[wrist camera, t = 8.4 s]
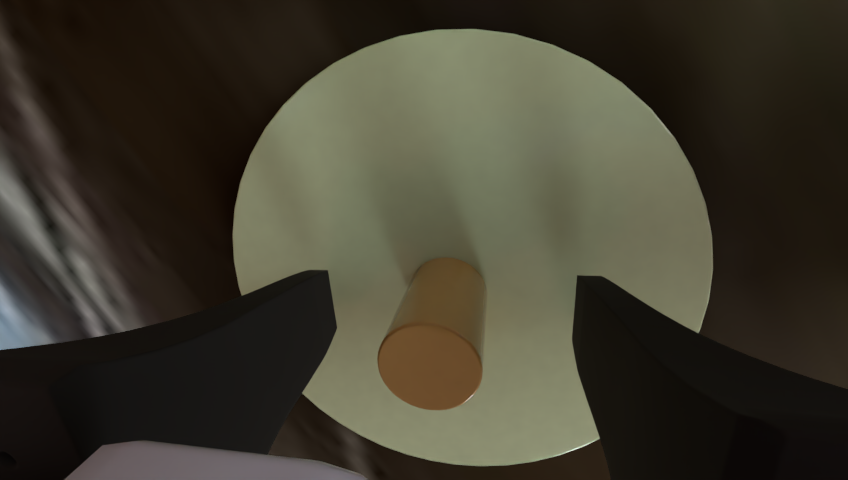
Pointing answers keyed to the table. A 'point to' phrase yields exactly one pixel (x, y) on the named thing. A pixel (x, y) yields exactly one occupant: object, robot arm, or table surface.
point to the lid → (469, 234)
